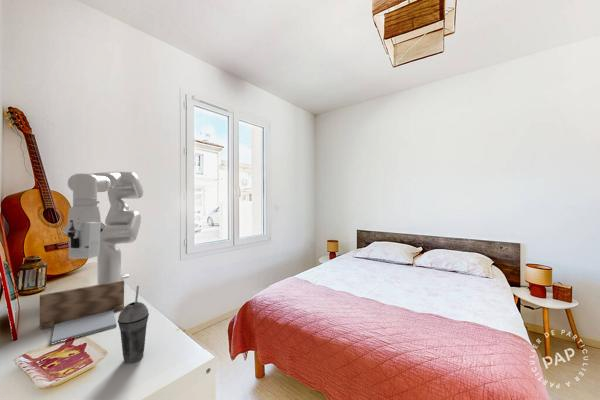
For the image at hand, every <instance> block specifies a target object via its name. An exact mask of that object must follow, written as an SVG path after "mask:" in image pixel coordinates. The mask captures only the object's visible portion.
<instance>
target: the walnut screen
mask: <svg viewBox="0 0 600 400" xmlns="http://www.w3.org/2000/svg"><path fill="white" fill-rule="evenodd" d="M124 282H125V279H124V280H121V281H116V282H110V283H105V284H99V285H97V284H96V285H90V286H83V287H78V288H72V289H67V290H60V291H56V292H55V291H54V292H51V293H45V294H40V295H39V328H40V330H45V329H49V328H54V327H55V324H59V323H63V322H67V321H71V320H75V319H80V318H84V317H88V316H92V315H96V314H100V313H104V312H108V311H112V310H113V313H114V312H119V311H122V309H123V308H124V307H125V284H124Z"/></svg>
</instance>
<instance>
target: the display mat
mask: <svg viewBox="0 0 600 400" xmlns="http://www.w3.org/2000/svg"><path fill="white" fill-rule="evenodd" d="M116 327H117V321H116V317H115V314H114V310H110V311H106V312H102V313H98V314H94V315H89V316H85V317H81V318H77V319H73V320H69V321H65V322H61V323H56V324H54V326H53V328H54V329H53V333H52V337H51V341H50V343H55V342H58V341H61V340H65V339H67V338H70V337H78V336H81V337H85V336H88V335H92V334H95V333H99V332H102V331H106V330H109V329H113V328H116ZM78 338H79V337H78Z"/></svg>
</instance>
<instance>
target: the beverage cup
mask: <svg viewBox="0 0 600 400" xmlns="http://www.w3.org/2000/svg"><path fill="white" fill-rule="evenodd" d="M139 288H140V285H136V288H135V289H136V291H135V298H134V299H135V300H134V301H133V302H130V303H128V304H126V305H124V307H123V309H122V310H120V313H119V315H118V319H117V323H118V327H119V330H120V331H119V332H120V339H121V341H120V343H121V348H122V349H121V351H122V357H123V362H124V364H127V365H129V364H130V365H131V364H135V363H137V362H139V361H140V360H142V359H143V358H144V353H145V352H144V351H145V346H146V345H145V344H146V335H147V333H146V332H147V324H148V320H149V316H150V313H149V309H148V307H147V306H146V304H145V303H143V302H141V301H138V298H139Z"/></svg>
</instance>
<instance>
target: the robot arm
mask: <svg viewBox="0 0 600 400" xmlns="http://www.w3.org/2000/svg"><path fill="white" fill-rule="evenodd" d="M67 186H68V188H69V190H71V191H72V206H71V207H70V208H69V211H68V214H67V223H66V225H65V226H64V227H63V228H61V231H62V233H64V235H66V236H67V237H68V238H69V239H70V238H71V248H79V238H77V237H78V235H79V233H80V231H82V230H83V225H84V223H87V222H101V229H100V248H99V256H97V257H96V258H97V259H96V261H97V268H96V269H97V272H96V273H97V274H96V275H97V279H96V280H97V283H96V285H99V284H105V283H110V282H116V281H121V280H124V285H125V284H126V282H125V280H126V279H129V278H130V274H124V275H122V250H121V249H120V248H119V246H118V244H130V243H131V244H132V243H134V242H135V241H136V240H137V237H138V233H139V229H140V226H141V223H142V217H141V216H142V215H141V213H140V212H139V211H137V210H129V207H130V206H129V205H128V204H127V203H126V202H125V201H124V200H123V199H126V200H128V199H129V200H130V199H133V200H134V199H136V200H137V199H141V198H142V197H143V196H144V188H143V185H142V183H141V180H140V178H139V176H138V175H137V174H136V173H135V172H133V171H116V170H115V171H105V172H95V173H93V172H92V173H75V174H73V175H70V177H69V178H68V180H67ZM103 192H107V198H108V201H109V202H108V203H109V204H110V207H109V209H108V212H107V214H106V217H105V220H104V223H103V222H102V220H101V213H100V208H99V206H98V204H100V201H99V200H98V193H103ZM73 227H74V228H73ZM72 228H73V229H72ZM71 230H72V232H70V231H71Z"/></svg>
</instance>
